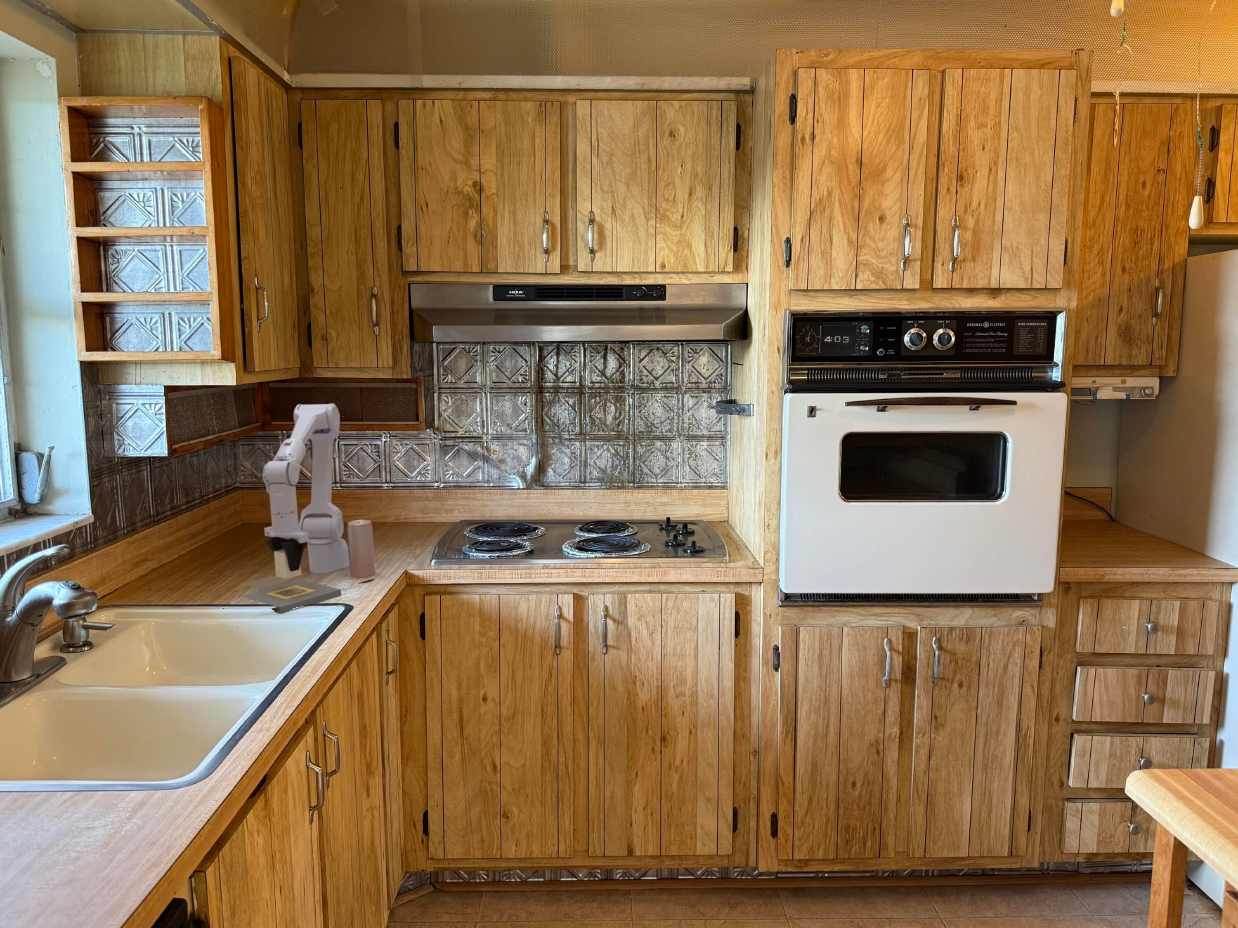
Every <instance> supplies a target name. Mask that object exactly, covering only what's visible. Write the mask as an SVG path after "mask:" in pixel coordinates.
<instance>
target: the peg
mask: <svg viewBox="0 0 1238 928" xmlns="http://www.w3.org/2000/svg"><path fill="white" fill-rule="evenodd" d="M273 557H274V567H275V577H277V578H281V579H285V580H289V579H291V578H296V577H298V576H302V568H301V566H302V564H301V563H300V568H299V570H296V571H290V569H289V566H288V560H287V556H286V553H285V550H284V549H282V550H278V551H274V555H273Z"/></svg>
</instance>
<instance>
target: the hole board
mask: <svg viewBox="0 0 1238 928" xmlns="http://www.w3.org/2000/svg"><path fill="white" fill-rule="evenodd" d="M293 589H296V590H301V591H303V592H300V593H297V594H292V595H290V596H289V595H288V596H285V595H282V594H279V593H282V592H286V591H289V590H293ZM341 596H342V589H341V588H337V587H333V586H329V585H325V584H321V583H316V582H313V581H307V580H304V579H298V580H294V581H290V582H286V583H282V584H279V585H275V586H271V587H268V588H264V589H260V590H258V591H254V592H250V593H247V594H243V595H240V597H241V598H245V599H249V600H253V601H256V602H259V603H263V604H266V605H271V606H273V607H272V608H271V609H272V610H274V612H273V613H277V614H280V615H281V614H285V613H289V612H291V611H290V610H292V609H293V608H296V607H300V606H304V605H308V606H310V605H309V604H311V605H314V604H313V603H315V604H318V603H321V602H324V601H328V600H332V599H335V598H338V597H341ZM292 611H293V610H292Z"/></svg>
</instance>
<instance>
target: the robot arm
mask: <svg viewBox="0 0 1238 928" xmlns="http://www.w3.org/2000/svg"><path fill="white" fill-rule="evenodd" d="M340 417H341V415H340V411H339V408H338V407H337V405H336V404H335V403H328V404H327V403H325V404H324V403H322V404H317V403H316V404H301V403H299V404H297V405H296V407H294V411H293V421H294V427H293V430H292V432H291V435H290V437H289V438H287V439H284V440H283V441H282V443H281V444H280V447H279V449H278V451H277V453H276V454H275V456H274V458H273V460H270V461H268V462H267V463H266V464H264V466H263V471H262V480H263V482H264V484H265V489H266V493H267V494H269V504H270V505H269V506H270V515H271V526H268V527H267V526H266V527H264V528H263V529H264V536H265V537H270V538H269V539H266V540H265V543H266V544H267V546H268V547H269V548H270V550H271V552H272V554H273V556H274V551H278V550H282V549H284V550H285V553H286V556H287V560H288V566H289V569H290V571H296V570H299V568H300V564H301V562H302V558H303V553H304V551H305V548H306V546H307V552H308V553H307V554H308V563H309V564H308V567H309V573H311V574H327V573H328V574H329V573H332V572H336V571H339V570H342V569H345V568H350V561H349V547H348V543H347V542H346V540H345V539H344V538H342V536H343V534H344V529H345V527H344V520H343V513H342V512H343V511H342V510H340V508H338V507H337V506H336V505H334V504H333V503H332V495H333V494H332V492H333V491H332V489H333V486H332V485H333V457H334V454H333V453H334V440H335V439H337V438H338V437H339V435H340V425H341V424H340V422H341V421H340V420H341V418H340ZM309 439H310V440H311V442H312V463H311V465H312V468H311V469H312V470H311V472H312V473H311V493H310V496H311V497H310V498H311V499H310V504H308V505H307V506H306V507H305V508H304V509H302V510H301V513H300V520H299V514H298V502H297V501H298V500H297V490H296V485H297V484H298V482H299V479H300V478H299V477H300V471H301V466H300V465H301V464H302V462H303V459H304V457H305V455H306V452H307V447H306V446H305V445H306V444H307V442H308V441H309Z"/></svg>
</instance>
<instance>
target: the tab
mask: <svg viewBox="0 0 1238 928" xmlns="http://www.w3.org/2000/svg"><path fill="white" fill-rule="evenodd" d="M290 582H291V580H289V579H284V578H280V577H276V576H268V577H265V578H260V579H256V580H252V581H250V582H246V583H243V585H244V586H248V587H252V588H255V589H259V590H264V589H268V588H272V587H275V586H279V585H283V584H286V583H290Z"/></svg>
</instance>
